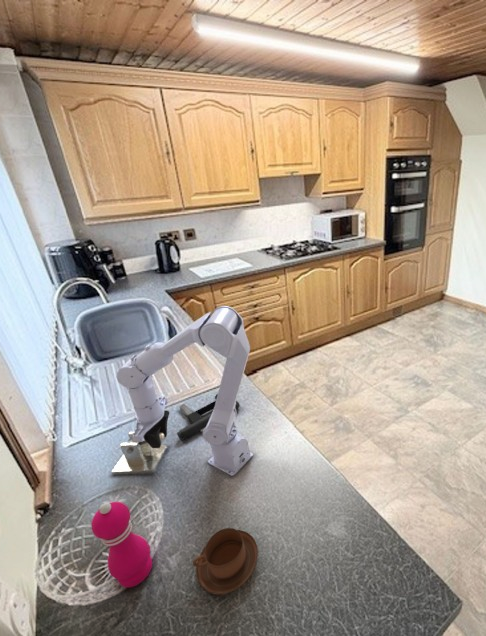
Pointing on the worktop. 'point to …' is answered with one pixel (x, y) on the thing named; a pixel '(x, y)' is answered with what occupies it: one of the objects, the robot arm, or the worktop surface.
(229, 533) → the cup and saucer
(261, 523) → the worktop surface
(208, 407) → the door handle
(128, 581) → the pepper mill
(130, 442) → the lever
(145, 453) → the bracket
